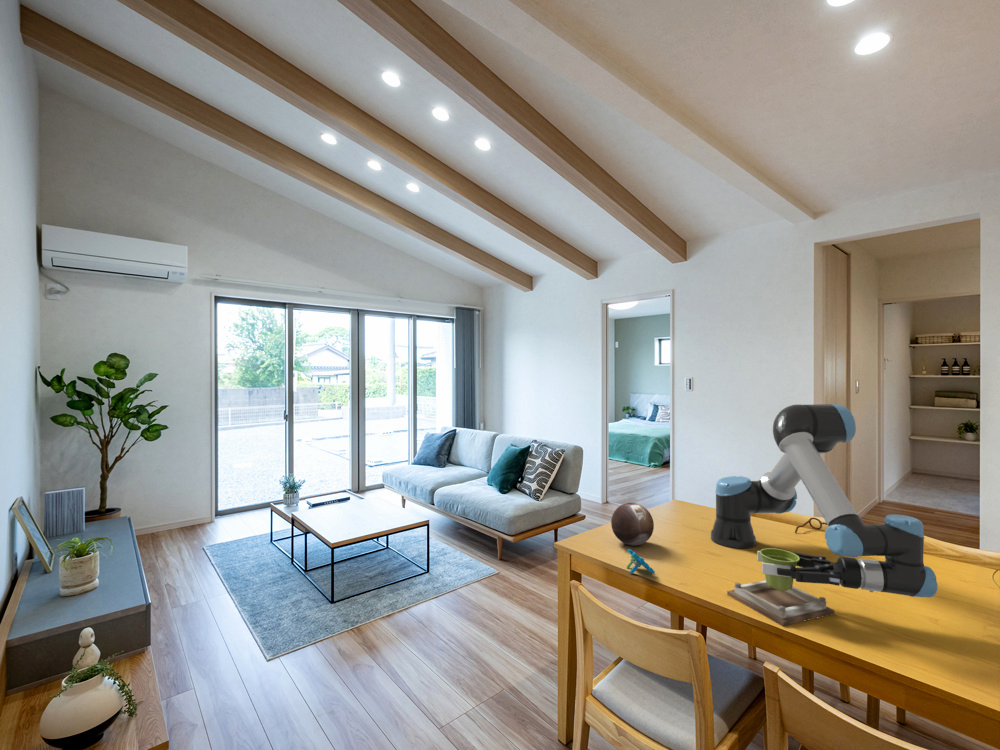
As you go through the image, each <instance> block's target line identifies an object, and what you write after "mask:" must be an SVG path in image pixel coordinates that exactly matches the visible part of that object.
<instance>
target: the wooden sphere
mask: <svg viewBox="0 0 1000 750" xmlns="http://www.w3.org/2000/svg"><path fill="white" fill-rule="evenodd" d="M610 523H611V526H610V527H611V529H612V532H613V534H614V535H615V537H616V538H617V539H618V540H619V541H620V542H622V544H625V545H628V546H633V547H635V546H640V545H644V544H645V543H647V541H649V540H650V538H651V537H652V535H653V532H654V529H655V527H654V526H655V525H654V519H653V516H652V514H651V513H650V511H649V510H648V509H647V508H646V507H645V506H643V505H641V504H639V503H636V502H626V503H623V504H621V505H619V506H617V508H616V509H615V510H614V511H613V513H612V515H611V521H610Z"/></svg>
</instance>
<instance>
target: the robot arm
mask: <svg viewBox="0 0 1000 750" xmlns="http://www.w3.org/2000/svg"><path fill="white" fill-rule="evenodd" d="M856 430H857V426H856V420H855V417H854V416H853V414H852V412H851V411H850V410H849V409H848V408H847V407H846V406H844V405H842V404H833V403H827V404H819V403H818V404H791V405H788V406H785V408H783V409H781V410H780V411H779V412H778V414H777V415H776V416H775V419H774V420H773V425H772V434H773V439H774V441H775V444H776V445H777V447H778V449H779V451H780V452H781V453H783V455H782V456H781V457H780V459H779V460H778V461H777V462H776V465H775V466H774V467H773V469H772V470H771V471H769V472H765V473H764V474H763V475H762V476H761V477H760V478H759V480H751V479H750V478H749V477H745V476H736V475H733V476H727V477H721V478H720V479H718V481H717V482H716V486H715V520H714V523H713V527H712V529H711V530H710V539H711V541H712V542H714V543H715V544H718V545H721V546H724V547H729V548H736V549H750V548H754V547H756V545H757V537H756V535H755V533H754V528H753V525H752V523H751V514H784V513H789V512H791V511H793V509H794V508H795V507H796V505H797V500H798V494H797V493H798V492H797V490H796V488H795V487H797V485H798V484H799V482H800V481H802V483H803V485H804V486H805V489H806V491H807V492H808V494H809V495H810V497H811V498H812V501H813V502H814V504H815V505H816V507H817V509H818V511H819V513H820V514H821V516H822V518H823V520H824V521H825V523H827V525H826V526H827V527H826V529H825V532H824V539H825V540H826V541H825V543H826V546H827V547H828V549H829V550H830V551H831V553H833V554H834V555H836V556H839V557H838V559H837V561H836V562H833V561H831V560H828V559H827V557H826V556H824V555H823V556H821V555H820V556H819V555H812V554H806V553H800V552H793V551H791V552H792V553H794V554H796V555H798V556H799V558H800V560H799V561H798V563H797V565H796V567H795V566H793V565H791V567H790V566H787V565H778V564H770V563H764V562H763V559H762V555H761V554H760V550H757V556H756V561H757V562H761V564H762V565H761V566H762V567H761V569H762V571H761V573H762V574H764V575H765V574H769V575H777V576H785V577H791V578H793V580H795V582H797V583H804V584H806V583H807V584H820V585H821V584H824V585H834V586H841V587H843V588H847V589H855V590H858V589H861V590H862V591H863V590H864V591H869V593H874V592H881V593H886V594H887V593H888V594H893V595H899V596H900V595H901V596H902V595H903V596H908V597H912V598H915V597H916V598H933V597H935V595H936V594H937V592H938V588H939V587H938V582H937V576H936V574H935V571H934V570H933V569H932V568H931V567H930V566H927V565H925V563H924V553H925V552H924V548H925V547H924V545H925V539H926V538H925V534H924V533H925V531H924V529H925V528H924V524H923V522H922V521H921V520H920V519H918V518H916V517H913V516H910V515H905V514H897V513H894V514H893V513H892V514H887V515H886V516H885V518H884V522H883V523H884V524H883V523H882V524H881V523H880V524H877V523H876V524H865V523H864V521H863V520H862V518H861V517H860V516H859V514H858V513H857V511H856V509H855V508H854V506H853V505H852V503H851V502H850V500H849V499H848V497H847V495H846V494H845V492H844V490H843V489H842V487H841V486H840V484H839V482H838V481H837V479H836V478H835V476H834V475H833V473H832V471H831V470H830V468H829V467H828V465H827V464H826V462H825V460H824V459H823V457H822V456H821V455H822V454H826V453H827V454H828V453H830V452H832V450H834V448H835V447H836V446H837V444H838V443H844V444H845V443H848V442H850V441H852V440H853V439H854V437H855V435H856ZM874 556H875V557H884V559H885V561H884V560H882V561H881V560H877V559H869V558H866V559H865V558H861V557H874ZM858 557H859V558H858ZM856 558H858V559H856Z"/></svg>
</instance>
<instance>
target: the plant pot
mask: <svg viewBox="0 0 1000 750" xmlns="http://www.w3.org/2000/svg"><path fill="white" fill-rule="evenodd" d="M759 551H760V554H761V555H762V559H763V562H762V563H770V564H778V565H787V566H790V567H791V565H793V566H795V567H796V568H797V566H796V565H797V563H798V561H799V560H800V558H799V556H798V555H796V554H794V553H792V552H793V551H788V550H784V549H781V548H775V547H774V548H771V547H770V548H769V547H768V548H761V550H759ZM764 575H765V580H766V584H767V585H768V586H771V587H773V588H774V589H777V590H783V591H787V590H789V589H790V590H791V589H792V586H793V585H794V584H793V583H794V579H793V578H791V577H785V576H777V575H769V574H764ZM793 587H794V586H793Z"/></svg>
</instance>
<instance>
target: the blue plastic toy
mask: <svg viewBox="0 0 1000 750" xmlns="http://www.w3.org/2000/svg"><path fill="white" fill-rule="evenodd" d="M627 552H628V553H629V555H630V562H629V563H628V564H627V565H626V568H627V569H629V568H630V567H631V566H632V565H633V564H634V566H633V567H632V569H631V570H629V573H630V574H631V575H633V574H634V573H635V572H636V571H637V569H638V568H640V567H641V566H643V567H644V569H645V570H647V571H649V572H650V573H651V574H652V575H654V574H655V573H656V571H655V570H654V569H653V568H652V567H651V566H650V564H648V562H645V559H644V558H643V557H641V556H639V555H638V554H637V553H636V552H635V551H633V550H632V549H631V548H628V549H627Z"/></svg>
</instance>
